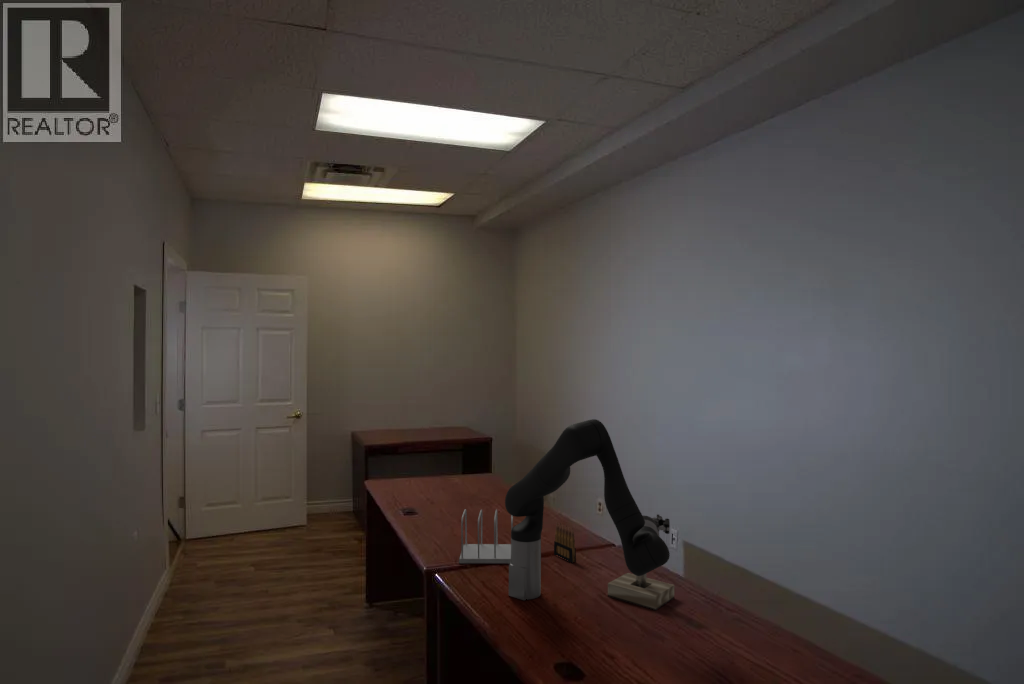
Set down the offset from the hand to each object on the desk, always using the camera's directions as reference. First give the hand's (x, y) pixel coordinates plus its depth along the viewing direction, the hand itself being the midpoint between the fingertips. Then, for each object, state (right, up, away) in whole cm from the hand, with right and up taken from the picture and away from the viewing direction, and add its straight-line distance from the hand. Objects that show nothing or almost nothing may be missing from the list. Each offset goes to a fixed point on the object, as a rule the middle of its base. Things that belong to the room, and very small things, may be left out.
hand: (642, 516), depth 186 cm
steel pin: (+2, -27, +11) cm, 29 cm away
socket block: (+2, -27, +11) cm, 29 cm away
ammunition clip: (-19, -27, +46) cm, 57 cm away
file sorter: (-43, -27, +48) cm, 70 cm away
